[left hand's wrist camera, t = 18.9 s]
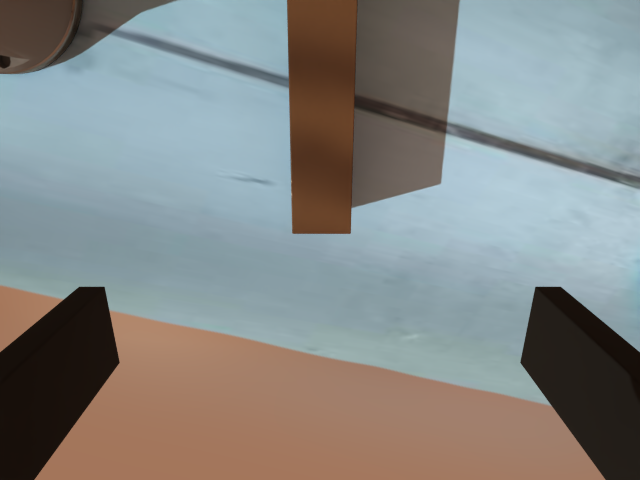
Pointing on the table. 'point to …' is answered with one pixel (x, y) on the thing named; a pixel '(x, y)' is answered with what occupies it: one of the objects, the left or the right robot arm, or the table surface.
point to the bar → (321, 113)
